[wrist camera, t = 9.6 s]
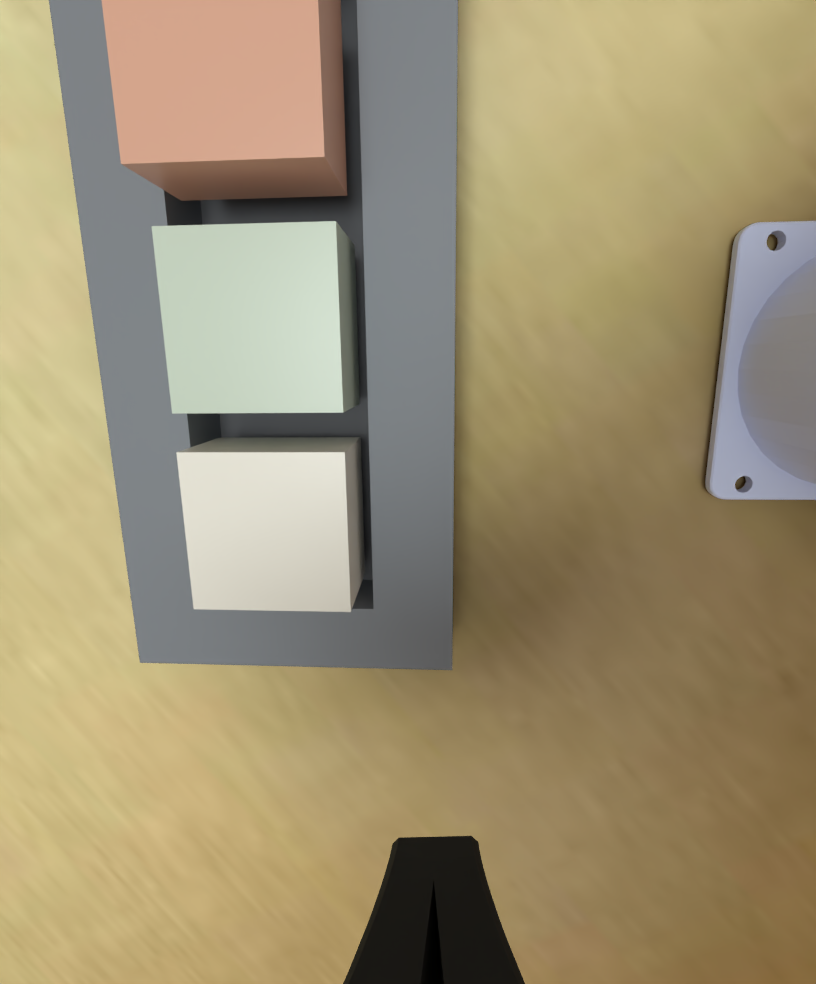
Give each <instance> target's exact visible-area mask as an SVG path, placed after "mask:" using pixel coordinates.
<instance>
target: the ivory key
mask: <svg viewBox="0 0 816 984" xmlns="http://www.w3.org/2000/svg"><path fill="white" fill-rule="evenodd" d="M176 454H177V463H178V472H179V481H180V490H181V499H182V508H183V517H184V527H185V536H186V545H187V554H188V563H189V572H190V581H191V590H192V599H193V608H194V609H206V610H263V611H320V612H351V610H352V607H353V605H354V602H355V599H356V597H357V594H358V591H359V588H360V586H361V583H362V580H363V577H364V575H365V558H364V525H363V493H362V461H361V437H266V438H217V439H214V440H211V441H208V442H205V443H202V444H199V445H196V446H193V447H191V448H188V449H185V450H182V451H179V452H176Z"/></svg>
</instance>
